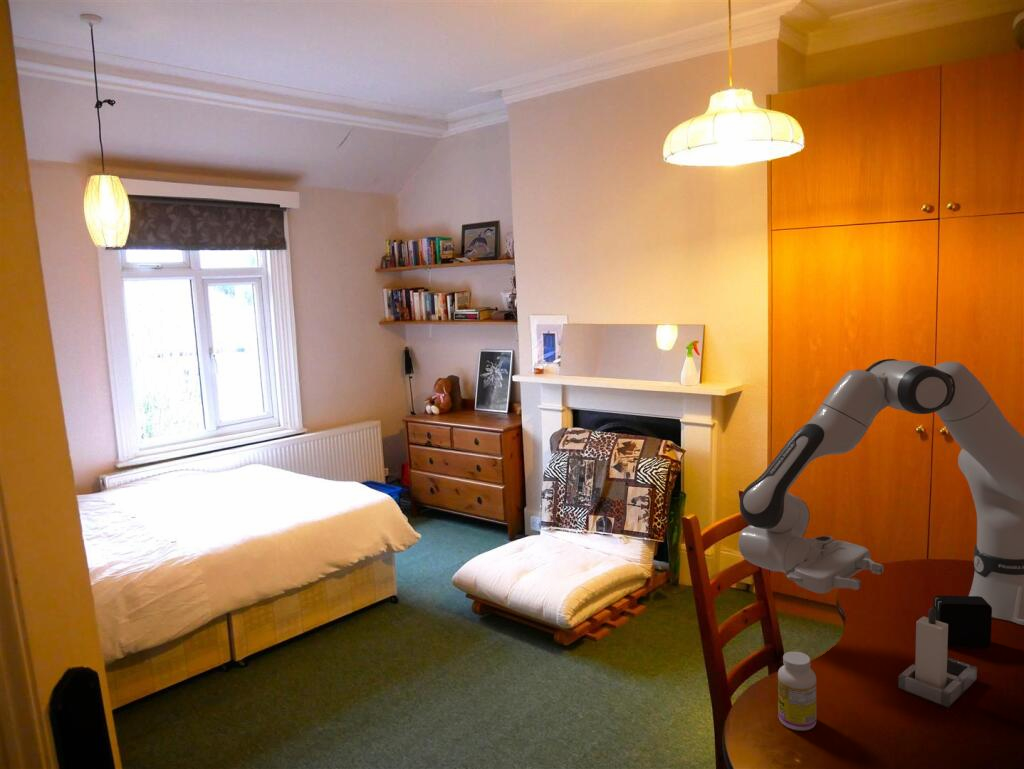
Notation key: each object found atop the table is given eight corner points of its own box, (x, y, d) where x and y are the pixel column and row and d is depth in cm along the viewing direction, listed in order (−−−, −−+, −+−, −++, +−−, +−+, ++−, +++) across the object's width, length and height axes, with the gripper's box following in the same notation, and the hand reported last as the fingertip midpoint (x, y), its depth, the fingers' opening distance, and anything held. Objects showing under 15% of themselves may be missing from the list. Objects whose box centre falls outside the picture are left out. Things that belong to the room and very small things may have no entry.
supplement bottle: (778, 708, 141) (778, 646, 139) (816, 713, 139) (815, 650, 137) (777, 729, 135) (777, 664, 133) (816, 735, 132) (816, 669, 130)
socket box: (898, 688, 145) (898, 675, 144) (928, 663, 153) (928, 650, 152) (947, 708, 138) (948, 694, 137) (976, 680, 146) (976, 667, 145)
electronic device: (990, 648, 157) (992, 605, 155) (939, 647, 159) (940, 603, 157) (982, 639, 161) (983, 596, 159) (932, 637, 163) (933, 595, 161)
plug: (914, 688, 144) (916, 606, 141) (921, 682, 146) (923, 601, 143) (939, 697, 140) (941, 614, 138) (946, 691, 142) (948, 609, 140)
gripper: (780, 561, 154) (844, 579, 143) (831, 533, 166) (893, 548, 155) (781, 589, 155) (845, 609, 144) (831, 559, 167) (893, 576, 156)
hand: (870, 577), depth 150 cm, fingers open, 8 cm apart
